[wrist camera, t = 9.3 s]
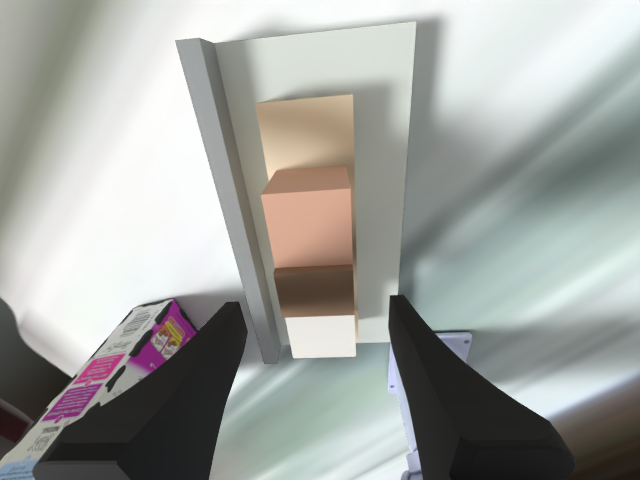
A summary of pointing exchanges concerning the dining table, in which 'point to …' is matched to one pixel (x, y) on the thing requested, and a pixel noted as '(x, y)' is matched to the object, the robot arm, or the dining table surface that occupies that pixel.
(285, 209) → the salmon pink cube
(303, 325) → the white cube
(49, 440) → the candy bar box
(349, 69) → the dock
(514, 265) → the dining table surface
